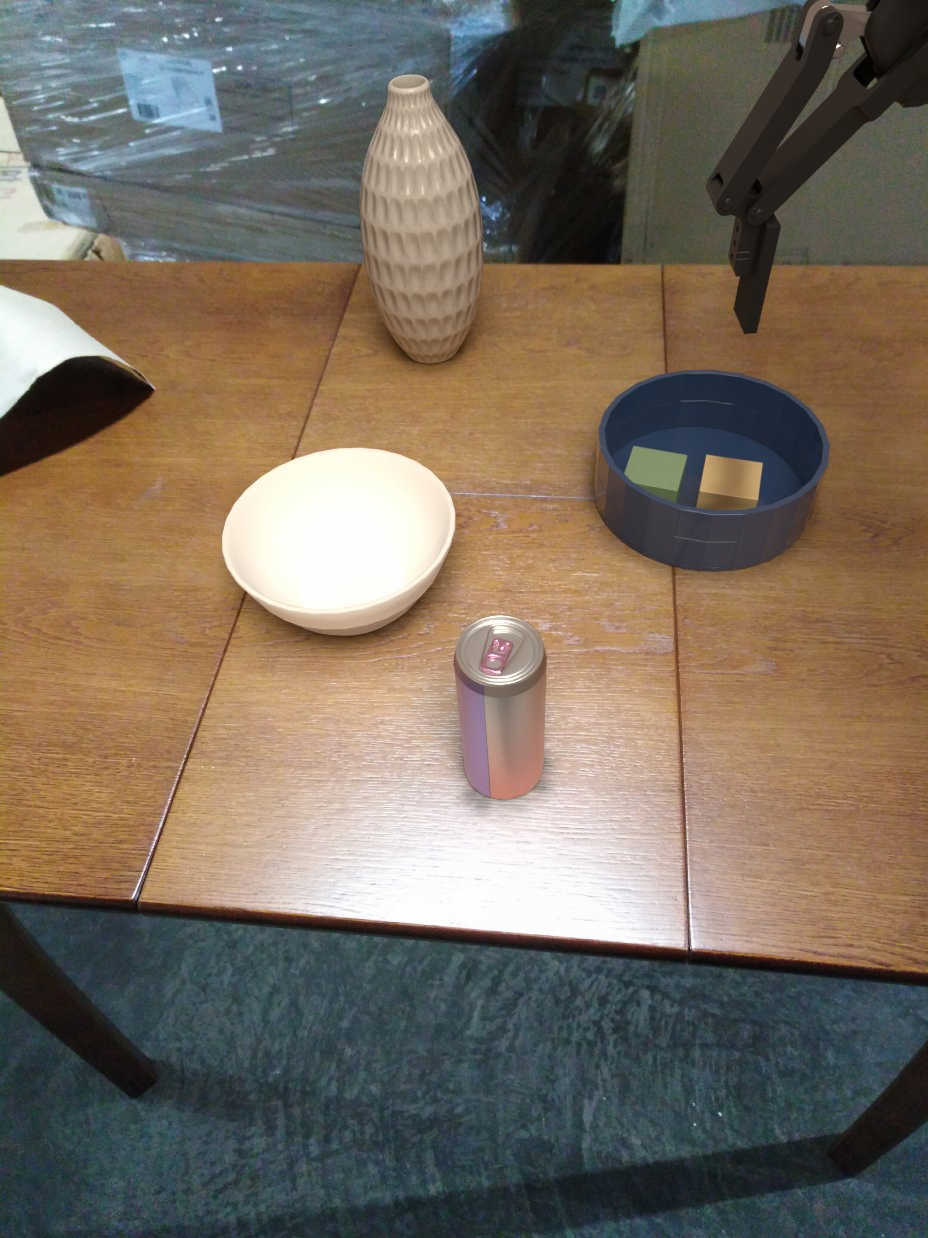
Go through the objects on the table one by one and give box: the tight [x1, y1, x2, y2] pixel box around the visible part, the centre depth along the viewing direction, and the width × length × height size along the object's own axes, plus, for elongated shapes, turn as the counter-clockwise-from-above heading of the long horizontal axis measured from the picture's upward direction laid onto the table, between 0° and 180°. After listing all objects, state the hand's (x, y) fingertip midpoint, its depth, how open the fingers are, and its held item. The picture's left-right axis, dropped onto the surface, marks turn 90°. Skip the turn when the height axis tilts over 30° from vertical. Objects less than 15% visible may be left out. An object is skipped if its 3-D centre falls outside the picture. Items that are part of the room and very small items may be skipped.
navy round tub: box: [593, 369, 831, 572], centre depth 83 cm, size 20×20×7 cm
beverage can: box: [453, 614, 548, 800], centre depth 62 cm, size 6×6×15 cm
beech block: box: [696, 455, 763, 510], centre depth 81 cm, size 5×5×5 cm
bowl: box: [221, 447, 457, 637], centre depth 77 cm, size 19×20×8 cm
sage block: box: [624, 446, 687, 503], centre depth 82 cm, size 5×5×5 cm
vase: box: [358, 74, 485, 365], centre depth 93 cm, size 13×13×28 cm
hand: (857, 313), depth 54 cm, fingers open, 13 cm apart
